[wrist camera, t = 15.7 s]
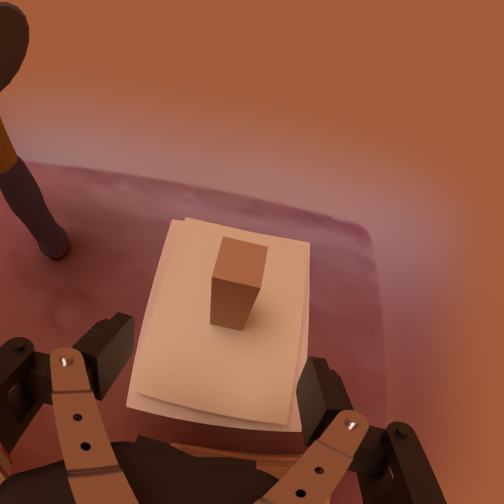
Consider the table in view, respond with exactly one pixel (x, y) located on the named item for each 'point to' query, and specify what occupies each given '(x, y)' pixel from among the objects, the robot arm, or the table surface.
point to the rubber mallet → (4, 156)
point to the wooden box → (264, 461)
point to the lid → (226, 324)
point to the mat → (200, 416)
